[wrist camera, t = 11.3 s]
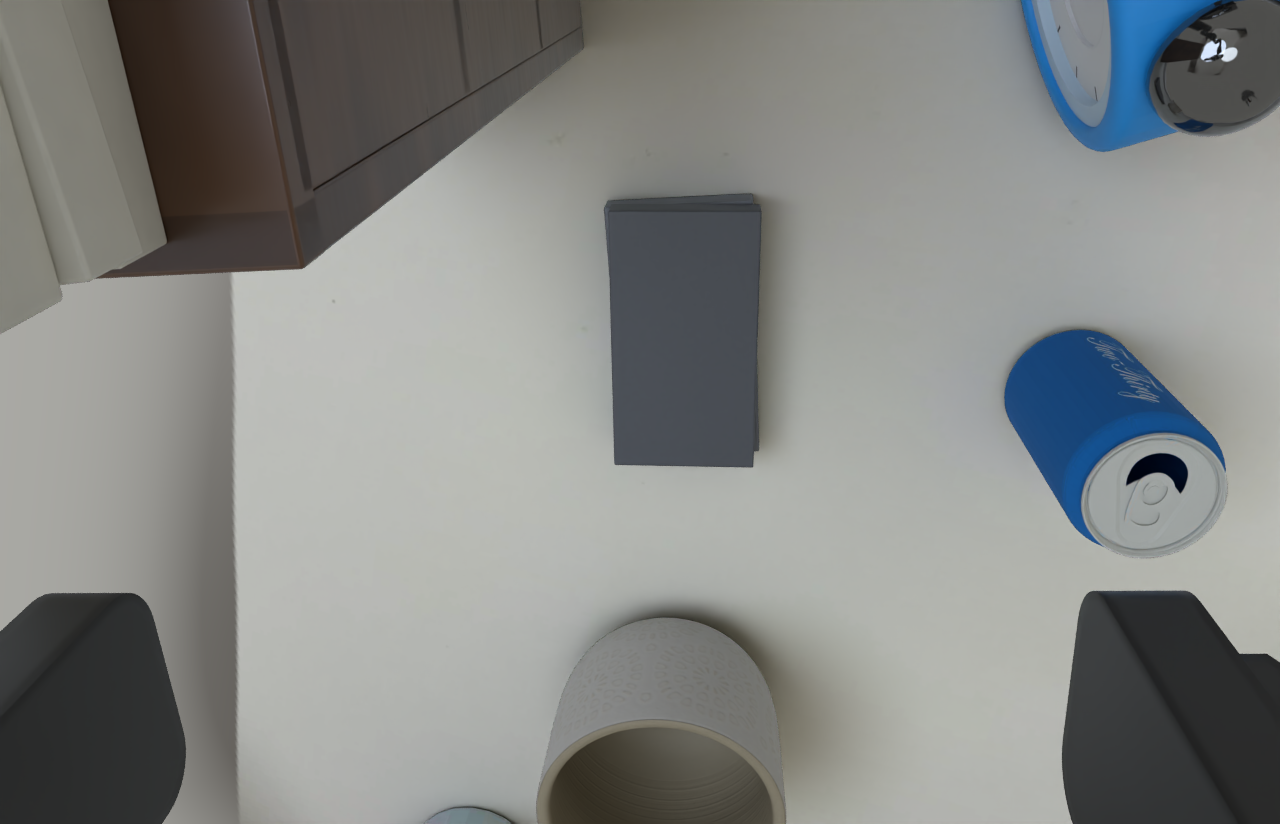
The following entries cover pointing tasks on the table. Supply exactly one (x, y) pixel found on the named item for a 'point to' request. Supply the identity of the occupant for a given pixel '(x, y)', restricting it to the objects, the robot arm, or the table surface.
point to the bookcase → (313, 111)
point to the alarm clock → (1156, 66)
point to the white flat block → (21, 238)
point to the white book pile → (78, 135)
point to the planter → (664, 733)
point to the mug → (467, 817)
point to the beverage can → (1115, 445)
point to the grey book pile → (684, 329)
